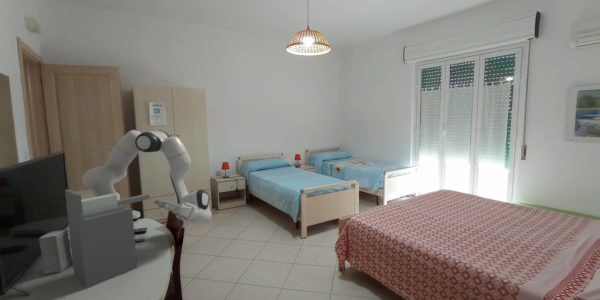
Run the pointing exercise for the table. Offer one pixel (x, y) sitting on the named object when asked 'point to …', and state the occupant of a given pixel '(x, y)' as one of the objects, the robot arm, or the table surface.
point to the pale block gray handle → (108, 202)
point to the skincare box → (55, 251)
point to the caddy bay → (100, 241)
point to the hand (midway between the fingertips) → (159, 203)
